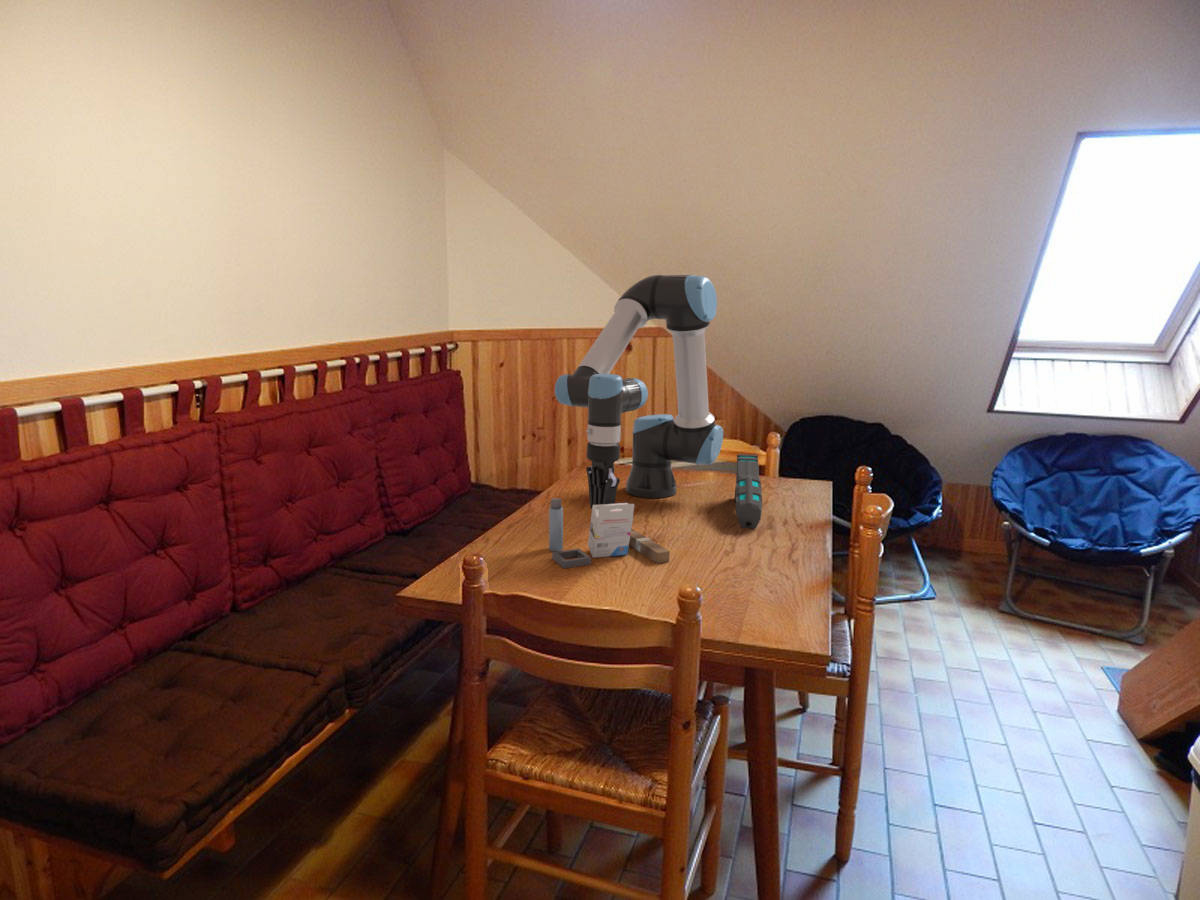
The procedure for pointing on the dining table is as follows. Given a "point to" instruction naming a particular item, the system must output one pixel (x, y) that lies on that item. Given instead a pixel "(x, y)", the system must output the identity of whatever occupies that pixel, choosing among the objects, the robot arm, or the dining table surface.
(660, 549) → the grey-brown long bar
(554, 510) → the blue bottle
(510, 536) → the dining table surface
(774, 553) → the dining table surface
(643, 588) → the dining table surface
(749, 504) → the gun
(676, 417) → the robot arm
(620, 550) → the ink box
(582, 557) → the holder
